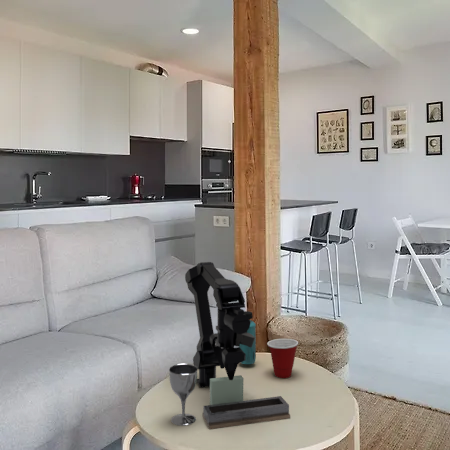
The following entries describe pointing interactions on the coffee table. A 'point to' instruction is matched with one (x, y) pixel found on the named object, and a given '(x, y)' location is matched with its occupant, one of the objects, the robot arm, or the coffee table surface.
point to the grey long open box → (245, 412)
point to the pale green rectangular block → (226, 390)
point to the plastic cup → (283, 356)
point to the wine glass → (183, 389)
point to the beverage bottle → (252, 351)
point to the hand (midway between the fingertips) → (226, 374)
